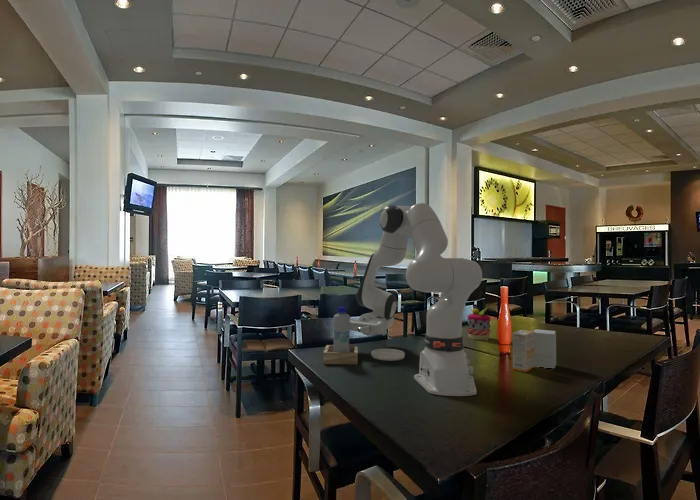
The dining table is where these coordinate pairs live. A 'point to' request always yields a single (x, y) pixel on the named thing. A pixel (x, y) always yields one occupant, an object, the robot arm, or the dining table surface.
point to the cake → (478, 325)
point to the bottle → (341, 331)
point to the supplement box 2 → (545, 348)
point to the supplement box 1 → (523, 350)
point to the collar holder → (340, 355)
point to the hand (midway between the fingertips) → (349, 328)
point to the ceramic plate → (388, 354)
